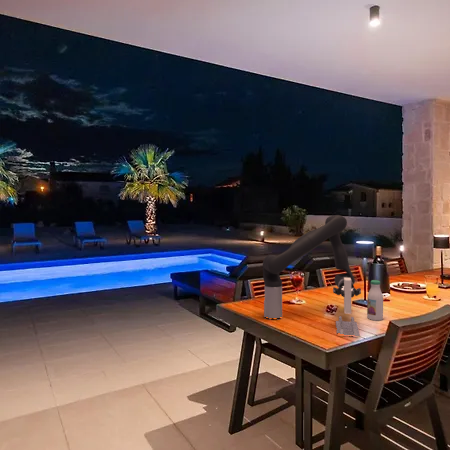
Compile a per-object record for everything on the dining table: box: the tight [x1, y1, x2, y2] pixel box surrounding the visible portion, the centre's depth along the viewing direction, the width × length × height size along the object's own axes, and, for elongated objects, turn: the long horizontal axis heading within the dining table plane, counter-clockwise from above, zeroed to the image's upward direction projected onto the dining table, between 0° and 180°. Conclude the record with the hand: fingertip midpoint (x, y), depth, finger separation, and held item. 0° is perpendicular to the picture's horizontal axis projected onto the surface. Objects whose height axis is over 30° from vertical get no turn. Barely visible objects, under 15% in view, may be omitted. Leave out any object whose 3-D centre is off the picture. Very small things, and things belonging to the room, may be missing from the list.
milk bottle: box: [366, 279, 384, 321], centre depth 208 cm, size 8×8×20 cm
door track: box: [335, 315, 361, 337], centre depth 192 cm, size 10×20×4 cm, turn 166°
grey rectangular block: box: [343, 278, 352, 315], centre depth 191 cm, size 3×6×16 cm, turn 166°
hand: (348, 295), depth 188 cm, fingers closed on grey rectangular block, 3 cm apart
